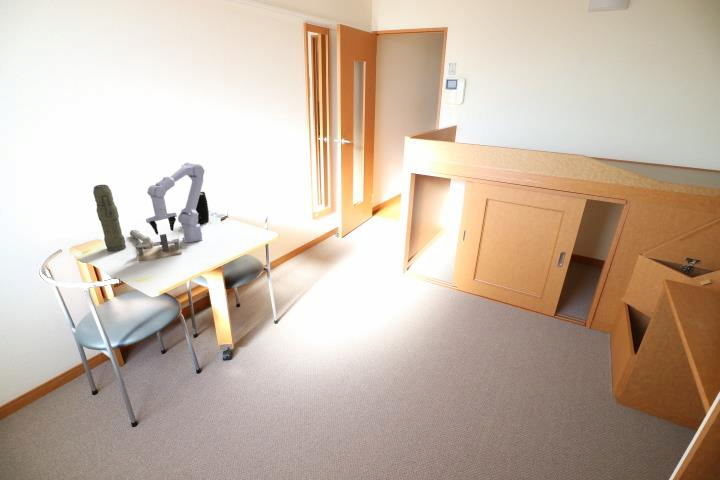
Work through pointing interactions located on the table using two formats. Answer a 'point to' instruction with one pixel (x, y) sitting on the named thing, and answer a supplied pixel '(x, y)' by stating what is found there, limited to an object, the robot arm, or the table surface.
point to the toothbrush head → (141, 237)
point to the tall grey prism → (164, 242)
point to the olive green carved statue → (109, 218)
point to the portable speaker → (202, 209)
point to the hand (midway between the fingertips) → (164, 232)
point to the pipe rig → (157, 250)
